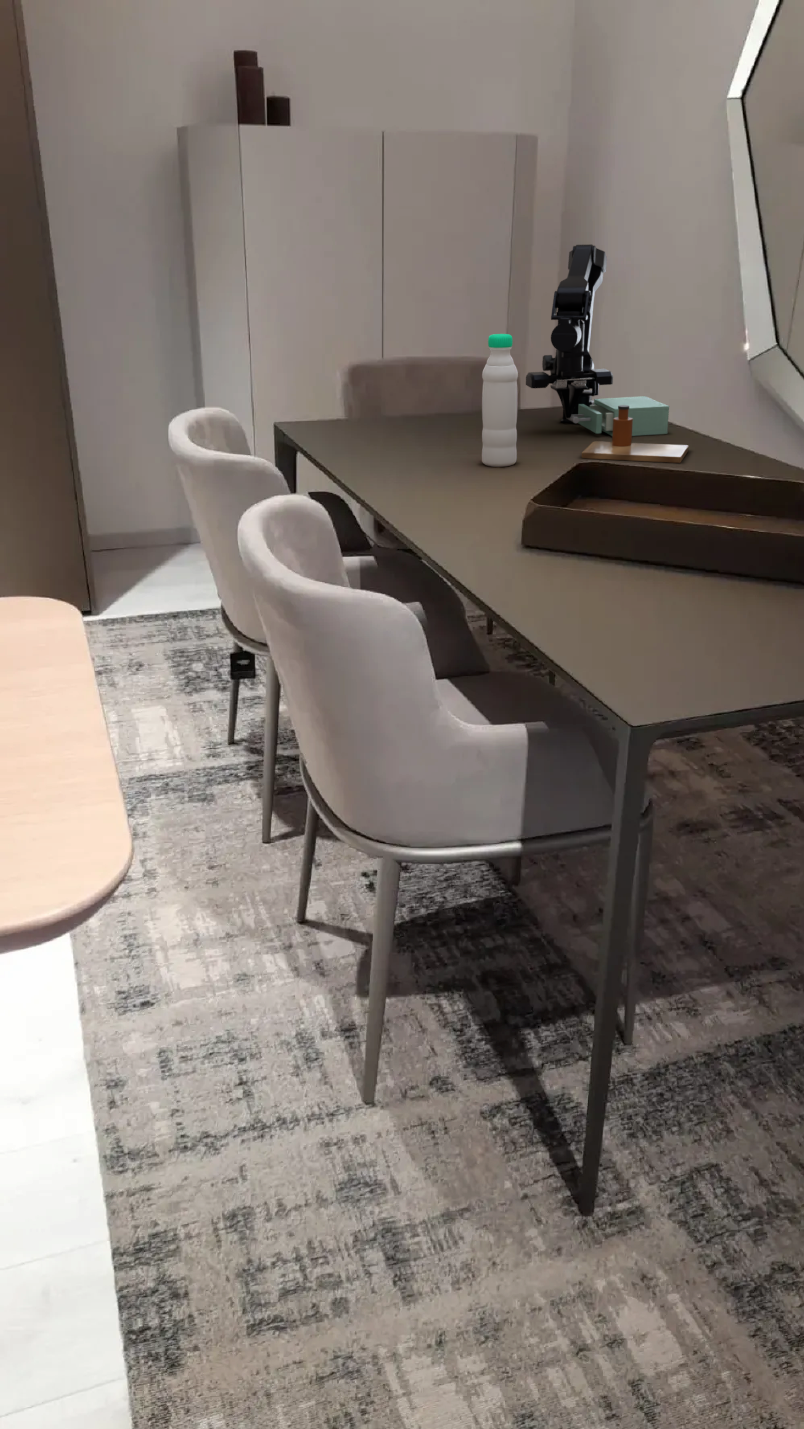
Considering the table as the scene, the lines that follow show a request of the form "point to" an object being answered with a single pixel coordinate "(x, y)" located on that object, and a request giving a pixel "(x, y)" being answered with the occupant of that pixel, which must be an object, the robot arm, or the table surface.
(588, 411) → the drawer
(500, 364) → the water bottle
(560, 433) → the table surface
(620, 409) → the bottle
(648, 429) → the cabinet
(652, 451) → the board
